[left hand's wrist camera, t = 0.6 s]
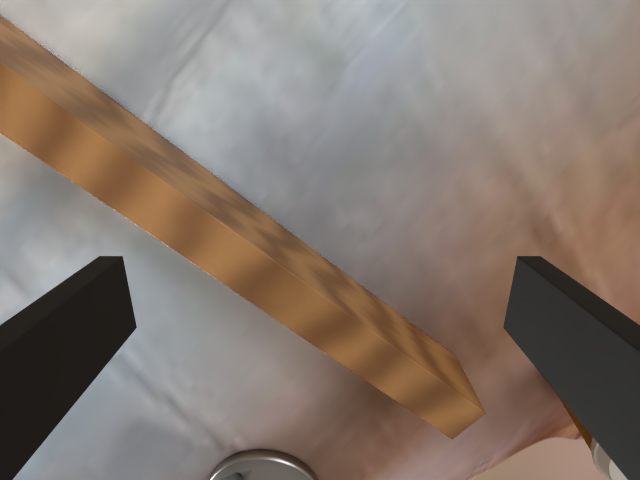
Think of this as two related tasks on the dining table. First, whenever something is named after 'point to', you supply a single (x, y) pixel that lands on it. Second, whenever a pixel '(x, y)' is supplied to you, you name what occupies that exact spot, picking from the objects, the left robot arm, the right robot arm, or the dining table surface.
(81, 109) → the beam
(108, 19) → the dining table surface
